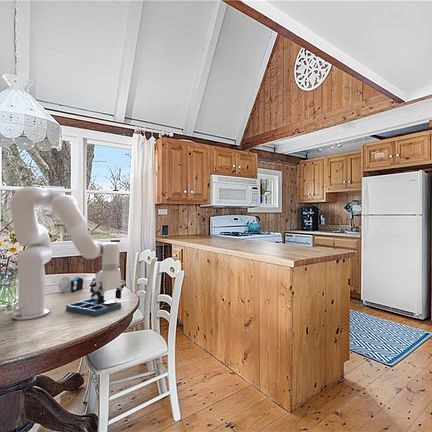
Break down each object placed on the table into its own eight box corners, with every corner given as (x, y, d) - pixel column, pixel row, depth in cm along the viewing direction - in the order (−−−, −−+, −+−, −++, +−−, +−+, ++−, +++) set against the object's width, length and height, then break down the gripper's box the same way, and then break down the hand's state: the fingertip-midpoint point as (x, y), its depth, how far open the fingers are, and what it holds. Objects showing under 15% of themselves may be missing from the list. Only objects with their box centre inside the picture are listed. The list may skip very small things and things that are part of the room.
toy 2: (106, 308, 184) (110, 286, 194) (102, 291, 171) (107, 268, 180) (92, 309, 181) (97, 287, 191) (86, 291, 168) (92, 269, 178)
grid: (95, 316, 142) (95, 310, 142) (66, 310, 149) (66, 305, 149) (121, 308, 155) (121, 303, 155) (92, 303, 162) (93, 298, 162)
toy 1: (87, 291, 191) (67, 294, 177) (73, 288, 193) (51, 291, 178) (90, 277, 192) (70, 278, 178) (76, 274, 194) (55, 276, 179)
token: (108, 309, 150) (108, 303, 149) (101, 308, 151) (102, 302, 151) (116, 307, 154) (116, 301, 154) (110, 306, 155) (110, 300, 155)
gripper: (120, 263, 162) (119, 295, 162) (88, 269, 146) (87, 304, 146) (130, 265, 159) (129, 297, 159) (99, 270, 143) (98, 306, 143)
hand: (109, 300), depth 152 cm, fingers open, 9 cm apart
